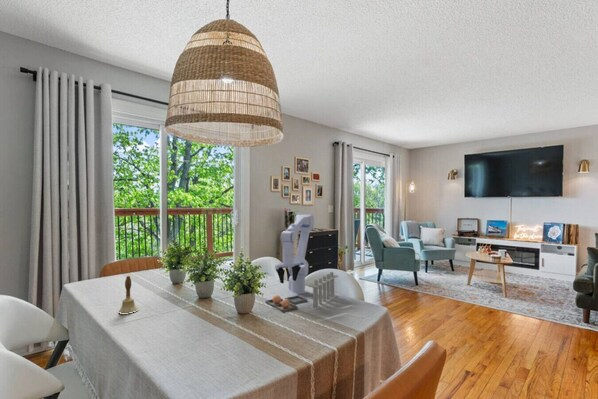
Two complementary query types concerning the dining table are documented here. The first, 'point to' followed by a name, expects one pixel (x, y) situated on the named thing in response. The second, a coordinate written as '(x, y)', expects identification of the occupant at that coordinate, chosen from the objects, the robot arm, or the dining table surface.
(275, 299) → the terracotta ball
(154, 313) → the dining table surface
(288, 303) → the ball
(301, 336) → the dining table surface
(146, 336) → the dining table surface
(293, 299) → the shallow grey square tray
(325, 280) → the test tube rack
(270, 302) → the pair tray
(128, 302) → the hand bell
